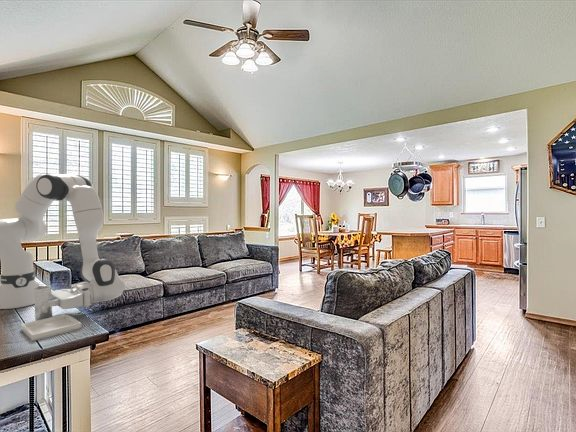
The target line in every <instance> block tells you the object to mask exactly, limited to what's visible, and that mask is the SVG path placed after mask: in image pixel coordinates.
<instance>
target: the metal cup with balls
mask: <svg viewBox="0 0 576 432" xmlns="http://www.w3.org/2000/svg"><path fill="white" fill-rule="evenodd" d="M51 291H52V286H51V285H46V284H45V285H39V287H36V288H34V301H35V304H34V317H35V319H34V321H37V320H42V319H46V318H50V317H53V306H48V307H43V306H42V302H45V301H52V297H51Z"/></svg>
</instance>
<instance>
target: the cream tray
mask: <svg viewBox="0 0 576 432" xmlns="http://www.w3.org/2000/svg"><path fill="white" fill-rule="evenodd" d="M20 326H21V331H22V333H24V334H25V335H26V336H27V337H28V338H29V340H30V341H32V342H35V341H39V340H44V339H47V338H50V337H54V336H58V335H62V334H65V333H70V332H73V331H77V330H80V329H82V322H80V321H79V320H78V319H76V318H75V317H73V316H72V315H70V314H68V313H63V314H61V315H55V316H52V317H50V318H46V319H42V320H37V321H35V320H33V321H30V322H25V323H21V324H20Z"/></svg>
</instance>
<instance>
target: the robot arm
mask: <svg viewBox="0 0 576 432" xmlns="http://www.w3.org/2000/svg"><path fill="white" fill-rule="evenodd" d="M98 194H99V193H98V192H97V190H96V189H95V187H93V186H92V184H91V181H90V180H89V179H88V178H86V177H84V176H82V175H77V174H76V175H75V174H74V175H73V174H70V173H62V174H61V173H57V174H56V173H47V174H45V173H43V174H38V175H36V176H35V177H34V178H33V179H32V180H31V181H30V182H29V183H28V184H27V186H26V187H25V188H24V189H23V191H22V193H21V194H20V196H19V197H18V199H17V201H16V202H15V203H14V208H15V210H16V212H17V214H19V215H18V216H17V217H14V218H0V267H1V269H0V270H1V275H0V310H8V309H9V310H10V309H17V308H23V307H24V308H25V307H28V306H31V305H35V301H34V288H36V287H39V286H40V283H39V282H38V281H37V280H35V279H36V272H35V271H34V256H33V255H32V253H31V252H29V251H27V250H25V249H24V248H23V247H22V243H26V242H33V241H37V240H39V239H42V238H43V237H45V235H46V234H47V231H48V229H47V224H46V223H45V222H44V216H45V214H46V213H47V211H48V209H49V208H50V207H51V204H52V203H53V201H67V202H69V203H70V205H71V206H70V207H71V211H72V215H73V216H72V217H73V219H74V224H75V227H76V230H77V235H78V242H79V248H80V254H81V266H80V270H79V275H80V278H81V279H82V280H83V281H84V282H86V283H81V284H76V285H74V286H73V288H71V289H70V288H63V289H56V290H51V297H52V301H45V302H42V306H43V307H48V306H52V307H57V306H58V307H59V308H61V309H62V310H68V309H69V310H70V309H71V310H72V309H76V308H81V307H83V308H88V307H90V306H91V305H93V304H95V303H97V302H98V303H99V302H101V303H102V302H107V301H111V300H114V299H117V298H119V297H120V296H121V295H122V294H123V293H124V291H125V282H124V280H123V279H122V277H120V275H119V274H118V272H117V270H116V265H115V264H114V262H113V261H112V260H110V259H107V258H100V256H99V253H98V245H97V237H98V234H99V232H100V231H101V229H102V228H103V226H104V223H105V215H104V210H103V206H102V202H101V199H100V196H99V195H98Z"/></svg>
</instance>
